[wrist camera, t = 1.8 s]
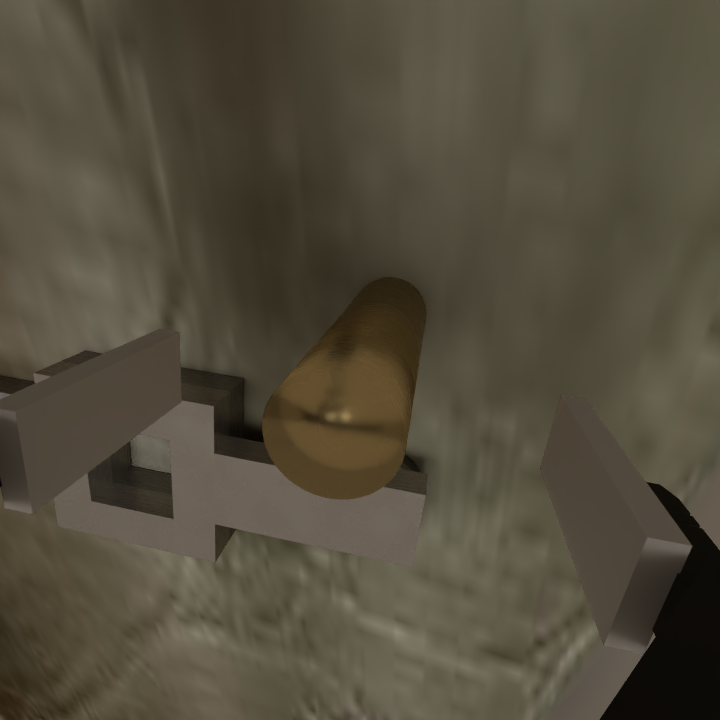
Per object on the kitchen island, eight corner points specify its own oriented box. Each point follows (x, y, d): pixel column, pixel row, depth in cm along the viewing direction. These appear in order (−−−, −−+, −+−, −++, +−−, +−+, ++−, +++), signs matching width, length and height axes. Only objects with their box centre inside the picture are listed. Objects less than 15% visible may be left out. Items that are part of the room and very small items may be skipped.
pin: (358, 272, 25) (264, 357, 12) (431, 282, 24) (417, 382, 11) (351, 341, 26) (260, 484, 13) (420, 352, 26) (395, 512, 13)
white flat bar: (-74, 323, 31) (-144, 340, 27) (436, 411, 27) (435, 446, 23) (-40, 459, 35) (-98, 490, 31) (409, 556, 31) (404, 605, 27)
